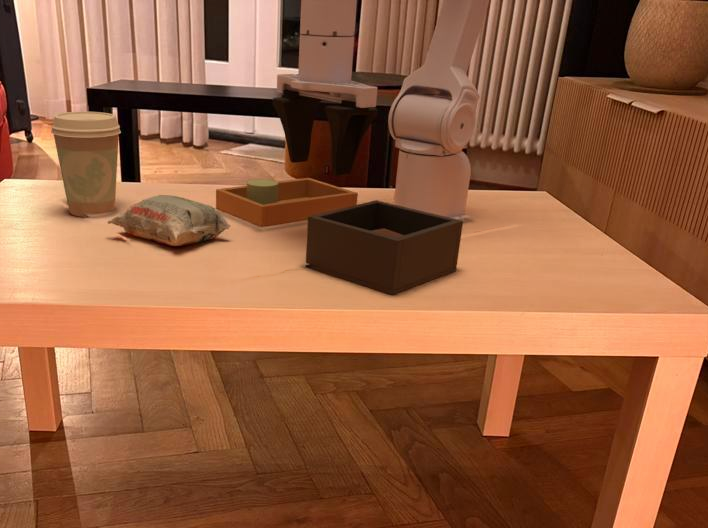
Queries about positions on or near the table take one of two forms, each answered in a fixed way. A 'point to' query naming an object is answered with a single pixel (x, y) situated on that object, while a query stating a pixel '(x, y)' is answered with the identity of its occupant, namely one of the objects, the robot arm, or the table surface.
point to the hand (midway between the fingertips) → (319, 167)
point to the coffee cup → (87, 160)
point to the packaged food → (171, 220)
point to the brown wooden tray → (286, 202)
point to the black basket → (383, 245)
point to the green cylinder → (262, 191)
